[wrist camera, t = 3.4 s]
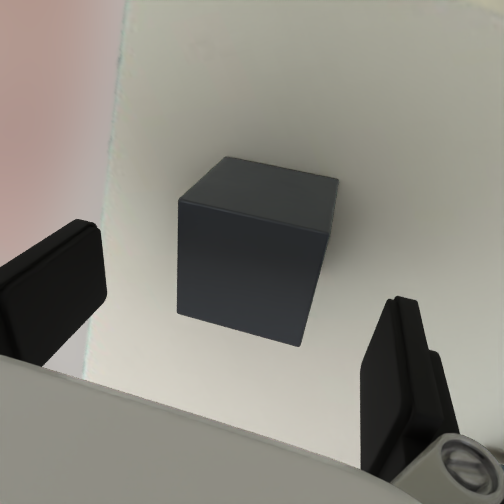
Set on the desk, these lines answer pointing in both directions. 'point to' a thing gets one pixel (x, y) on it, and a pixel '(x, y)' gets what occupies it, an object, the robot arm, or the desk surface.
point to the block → (253, 247)
